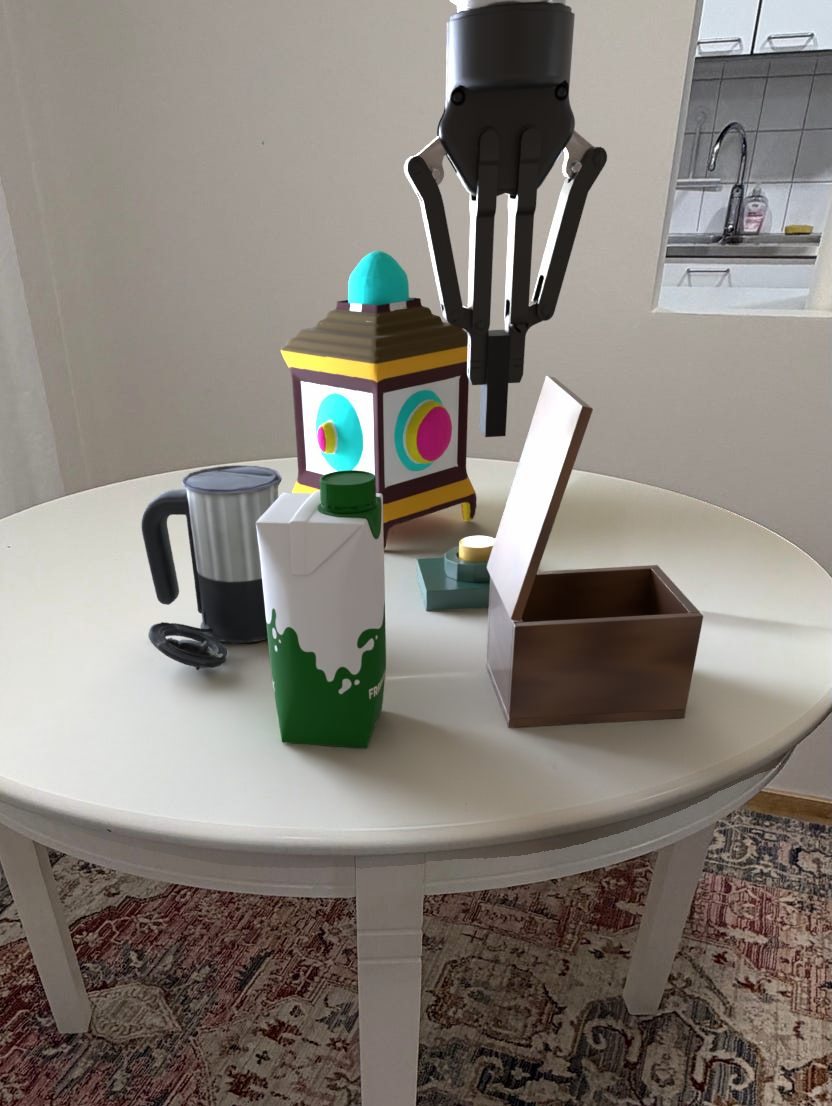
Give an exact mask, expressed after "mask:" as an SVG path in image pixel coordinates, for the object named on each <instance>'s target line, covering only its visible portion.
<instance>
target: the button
mask: <svg viewBox="0 0 832 1106" xmlns="http://www.w3.org/2000/svg"><path fill="white" fill-rule="evenodd" d="M495 538H496V537H495ZM495 538H494V537H492V536H487V535H470V536H465V537H463V538H461V539H460V540H459V542H458V546H459V559H462V560H464V561H471V562H487V561H489V558H490V554H491V551H492V548H493V545H494V542H495Z"/></svg>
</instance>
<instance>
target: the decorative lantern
mask: <svg viewBox="0 0 832 1106" xmlns="http://www.w3.org/2000/svg"><path fill="white" fill-rule="evenodd" d="M347 288H348V290H347V298H348V299H345V300H337V301H336V307H335V309H332V310H329V311H328V312H327V314H326V315H325V318H322V319H320V320H318V321H317V323H316V325H315V326H311V327H305V328H300V329H299V330H297V331H296V335H295V336H292V337H290V338H289V339H287V342H286V344H285V345H284V346H282V347H281V348H280V353H281V355H282V358H283V360H284V362H285V364H286V365H287V367H288V370H289V372H290V376H291V386H292V400H293V415H294V432H295V445H296V459H297V477H296V481H295V484H294V487H293V489H292V491H291V493H314V492H315V491H320V478H321V477H322V476H323V475H325V474H328V473H331V472H336V471H345V470H359V471H366V472H370V473H372V474H374V475H375V477H376V493H379V494H382V495H383V539H384V551H385V550H386V547H387V542H388V541H387V540H388V534H389V531H390V530H391V528H393V527H394V526H397V525H400V524H403V523H407V522H409V521H412V520H415V519H418V518H421V517H424V516H428V515H430V514H433V513H436V512H440V511H443V510H445V509H449V508H452V507H455V506H458V505H460V504H461V515H462V519H463V520H464V521H465V522H471V521H473V519H475V516H476V513H477V512H476V511H477V493H476V490H475V488H474V486H473V484H472V482H471V479H470V477H469V475H468V471H467V454H468V453H467V451H468V449H467V448H468V419H469V417H468V416H469V385H470V382H469V379H468V376H467V354H468V334H467V331H466V330H465V329H463V328H460V327H457V326H453V325H451V324H450V323H448V322H447V321H443V320H442V317H441V316H440V315H436V314H434V313H432V310H431V309H430V307H427V306H425V305H422V301H421V300H422V299H421V298H419V297H410V286H409V278H408V275H407V271H405V269H403V267H402V266H401V265H400V263H399V262H398V260H396V259H395V258H394V257H393V256H392V255H390V254H389V253H387V252H386V251H382V250H375V251H372V252H369V253H368V254H366V255H365V256H364V257H362V259H361V260H360V261H359V262H358V264H357V265H356V266H355V268H354V269H353V270H352V272H351V273H350V275H349V279H348V284H347Z"/></svg>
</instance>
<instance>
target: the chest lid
mask: <svg viewBox="0 0 832 1106" xmlns="http://www.w3.org/2000/svg"><path fill="white" fill-rule="evenodd" d="M593 411H594V409H593V407H591V406H590V405H589V404H588V403H587V402H585V401H584V400H583V399H582V398H581V397H579V396H578V395H577V394H576V393H575V392H573V391H572V390H571V389H570V388H569V387H567V386H566V385H565V384H564V383H562V382H561V381H560V380H559V379H558V378H556V377H555V376H551V375H545V378H544V381H543V384H542V387H541V391H540V394H539V398H538V401H537V404H536V407H535V410H534V413H533V415H532V420H531V423H530V426H529V429H528V433H527V435H526V439H525V443H524V445H523V449H522V453H521V455H520V459H519V461H518V465H517V468H516V470H515V474H514V478H513V481H512V483H511V488H510V490H509V493H508V496H507V500H506V503H505V507H504V510H503V513H502V517H501V519H500V523H499V525H498V528H497V529H498V530H497V532H496V535H495V542H494V545H493V548H492V551H491V554H490V558H489V561H488V564H487V570H488V572H489V574H490V576H491V578H492V581H493V583H494V585H495V587H496V589H497V591H498V593H499V595H500V598H501V600H502V602H503V604H504V606H505V608H506V610H507V612H508V615H509V617H510V619H511V620H515V621H521V618H522V615H523V612H524V609H525V606H526V603H527V600H528V597H529V594H530V591H531V589H532V586H533V583H534V580H535V577H536V574H537V572H539V569H540V565H541V562H542V559H543V557H544V553H545V551H546V548H547V544H548V542H549V539H550V536H551V533H552V530H553V527H554V525H555V522H556V519H557V516H558V513H559V509H560V507H561V504H562V501H563V498H564V495H565V492H566V489H567V486H568V483H569V481H570V477H571V475H572V472H573V469H574V466H575V463H576V460H577V458H578V454H579V451H580V449H581V445H582V442H583V439H584V438H585V434H586V431H587V428H588V425H589V422H590V420H591V417H592V414H593Z"/></svg>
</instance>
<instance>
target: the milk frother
mask: <svg viewBox="0 0 832 1106" xmlns="http://www.w3.org/2000/svg"><path fill="white" fill-rule="evenodd" d="M282 479H283V478H282V477H281V474H280V472H278V471H277V470H276V469H273V468H270V467H265V466H259V465H223V466H213V467H209V468H208V467H207V468H202V469H199V470H196V471H193V472H189V473H188V474H187V475H186V476H185V477H183V478H182V480H181V483H182V486H183V487H184V488H178V489H177V488H176V489H169V490H165V491H163V492H161V493H159V494H158V495H157V496H155V497H154V498H153V499H152V500H151V501H150V502H149V503H148V505H147V506H146V508H145V509H144V512H143V514H142V517H141V522H140V523H141V527H140V528H141V535H142V539H143V543H144V548H145V553H146V557H147V562H148V566H149V569H150V574H151V580H152V583H153V587H154V592H155V595H156V599H157V601H158V602H159V603H160V604H161V605H165V606H166V605H168V606H169V605H171V604H172V603H174V602H175V601H176V600H177V598H178V597H179V595H180V586H179V581H178V576H177V575H178V574H177V571H176V566H175V565H176V564H175V560H174V555H173V550H172V544H171V539H170V534H169V529H168V518H169V517H170V516H173V515H174V516H175V515H177V516H179V515H180V516H185V518H186V527H187V535H188V543H189V550H190V557H191V566H192V573H193V580H194V590H195V597H196V605H197V612H198V613H199V614H201V622H200V627H196V626H191V625H188V624H183V623H176V622H163V621H161V622H159V623H155V624H153V625H152V626H150V628H149V630H148V634H147V636H148V639H149V641H150V642H151V644H152V646H154V648H156V649H157V650H158V651H159V652H160V653H162V654H163V655H164V656H167V657H168V658H169V659H172V660H173V661H176V662H178V663H180V664H183V665H186V666H190V667H194V668H195V670H196V671H200V669H212V668H213V669H214V668H217V667H220V666H222V665H223V664H225V662H226V660H227V657H228V652H229V651H228V648H227V646H226V645H225V644H223V643H232V644H243V643H245V644H246V643H248V644H249V643H253V642H255V643H256V642H260V641H265V640H268V634H267V624H266V613H265V603H264V593H263V582H262V572H261V562H260V553H259V545H258V537H257V529H256V522H257V520H258V519H259V518H260V517H261V516H262V515H263V514H264V513H265V512H266V511H267V510H268V508H269V507H270V506H271V505H272V504H273V503H274V502H275V501H276V500H277V499H278V498H279V486H280V484H281V482H282ZM175 636H176V637H184V638H187V639H180V640H179V639H175V638H172V637H175ZM166 637H169V638H166ZM221 642H222V643H221Z"/></svg>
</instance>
